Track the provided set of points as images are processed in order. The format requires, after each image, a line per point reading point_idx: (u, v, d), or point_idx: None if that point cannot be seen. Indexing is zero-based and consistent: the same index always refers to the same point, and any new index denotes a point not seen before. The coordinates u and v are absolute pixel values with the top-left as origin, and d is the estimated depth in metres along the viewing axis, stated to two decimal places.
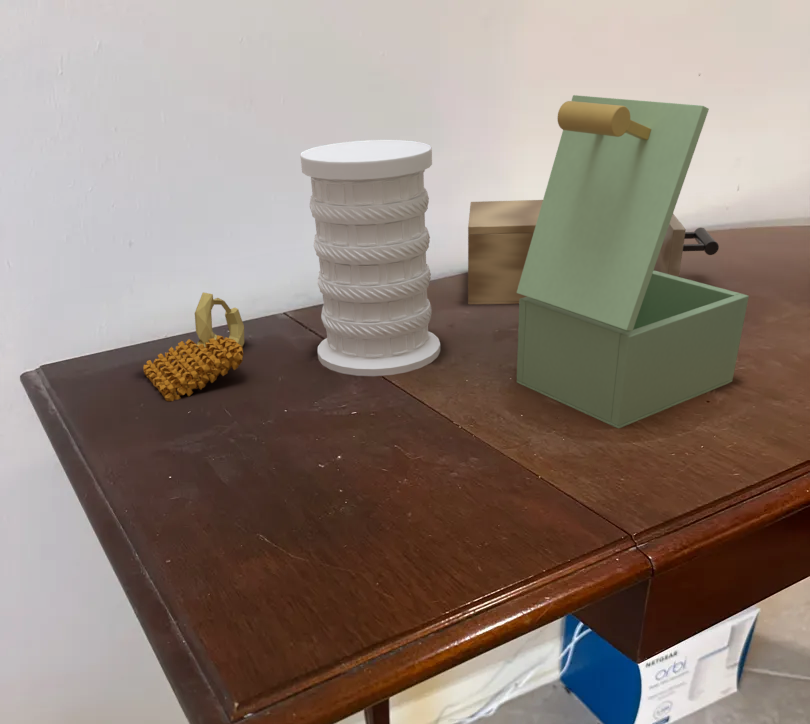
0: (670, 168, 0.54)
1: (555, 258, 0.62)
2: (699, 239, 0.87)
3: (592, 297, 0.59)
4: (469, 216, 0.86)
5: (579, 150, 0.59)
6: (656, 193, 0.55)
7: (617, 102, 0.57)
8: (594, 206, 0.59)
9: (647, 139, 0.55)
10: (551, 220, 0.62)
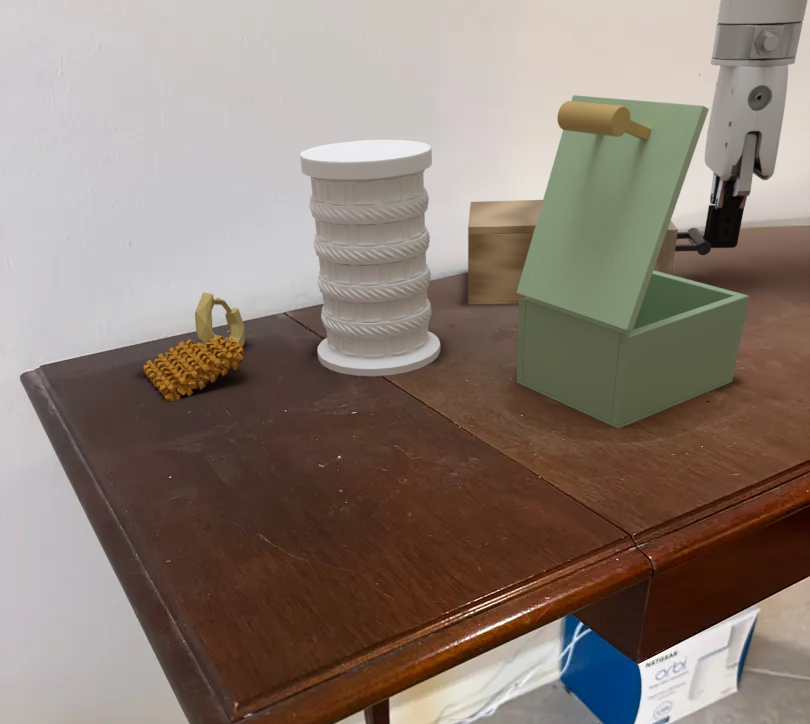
0: (670, 168, 0.54)
1: (555, 258, 0.62)
2: (692, 239, 0.87)
3: (592, 297, 0.59)
4: (469, 216, 0.86)
5: (579, 150, 0.59)
6: (656, 193, 0.55)
7: (617, 102, 0.57)
8: (594, 206, 0.59)
9: (647, 139, 0.55)
10: (551, 220, 0.62)
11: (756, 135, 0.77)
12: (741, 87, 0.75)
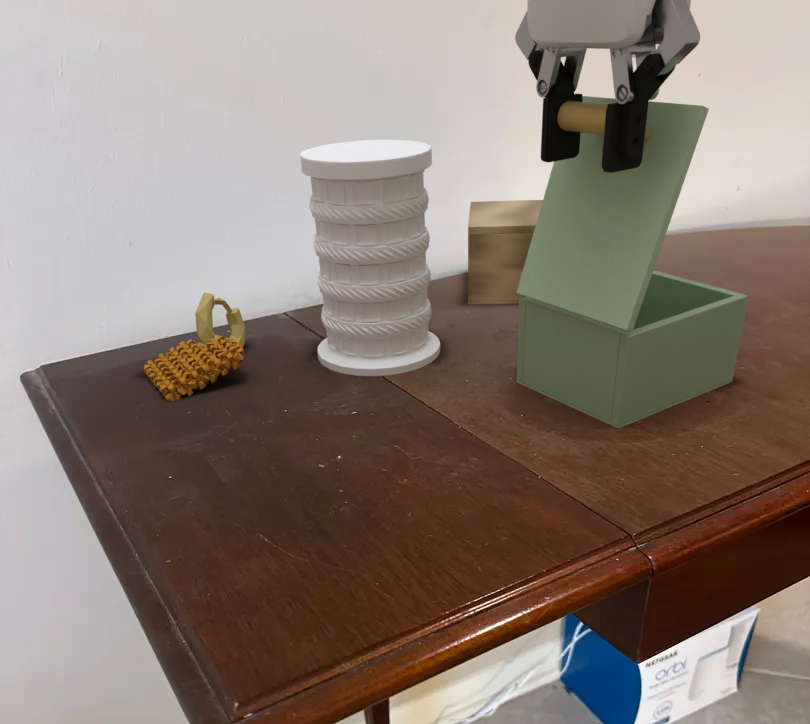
0: (670, 168, 0.54)
1: (555, 258, 0.62)
2: None
3: (592, 297, 0.59)
4: (469, 216, 0.86)
5: (579, 150, 0.59)
6: (656, 193, 0.55)
7: None
8: (594, 206, 0.59)
9: (647, 139, 0.55)
10: (551, 220, 0.62)
11: None
12: None
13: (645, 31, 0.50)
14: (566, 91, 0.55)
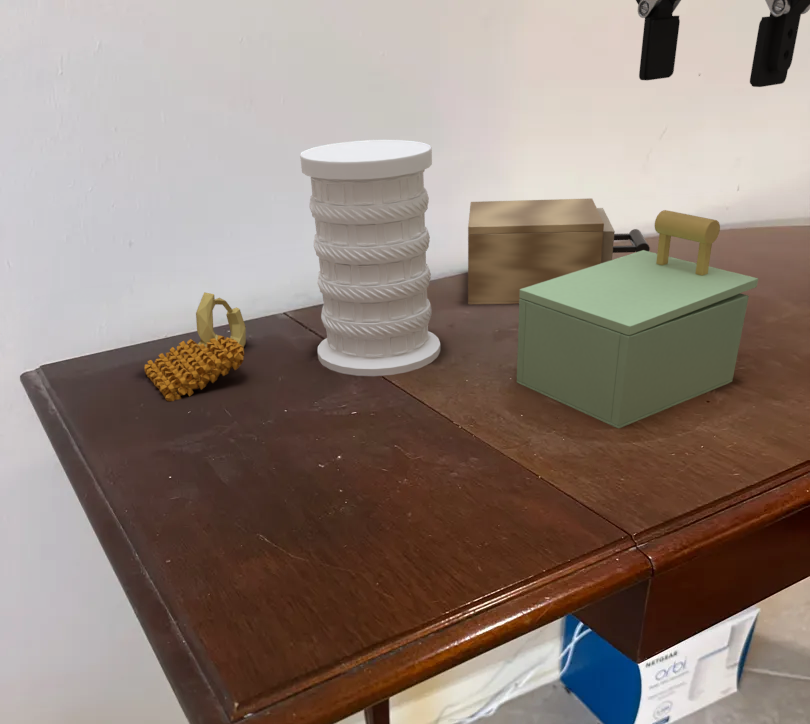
0: (716, 287, 0.62)
1: (576, 287, 0.64)
2: (632, 241, 0.87)
3: (603, 308, 0.60)
4: (469, 216, 0.86)
5: (634, 264, 0.68)
6: (698, 291, 0.62)
7: (682, 260, 0.68)
8: (633, 281, 0.65)
9: (702, 274, 0.65)
10: (585, 276, 0.66)
11: None
12: None
13: None
14: (666, 12, 0.60)
